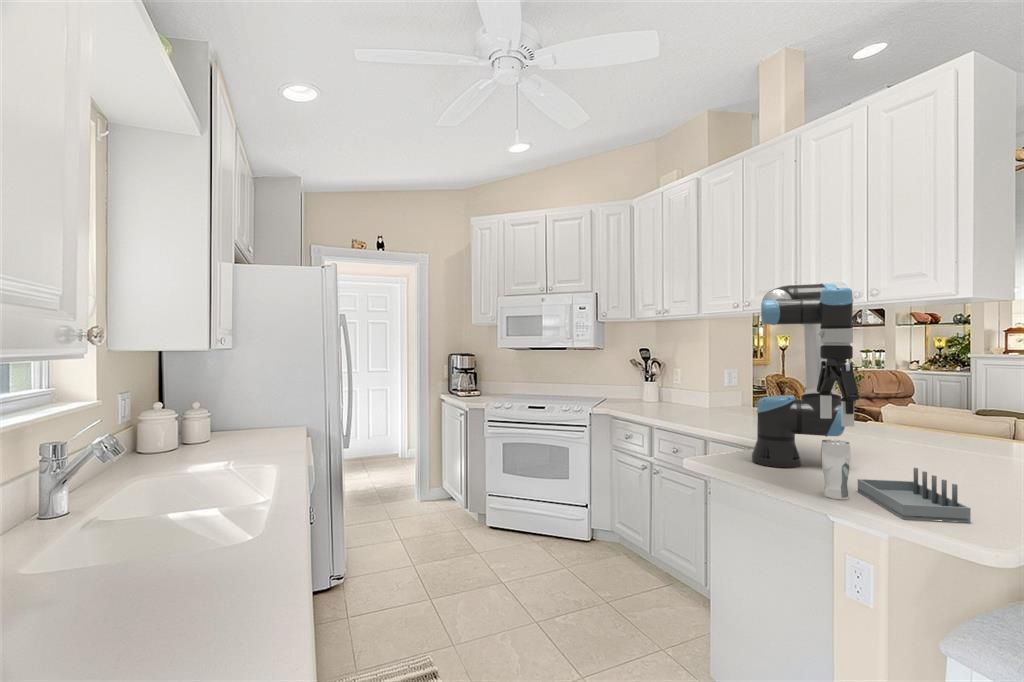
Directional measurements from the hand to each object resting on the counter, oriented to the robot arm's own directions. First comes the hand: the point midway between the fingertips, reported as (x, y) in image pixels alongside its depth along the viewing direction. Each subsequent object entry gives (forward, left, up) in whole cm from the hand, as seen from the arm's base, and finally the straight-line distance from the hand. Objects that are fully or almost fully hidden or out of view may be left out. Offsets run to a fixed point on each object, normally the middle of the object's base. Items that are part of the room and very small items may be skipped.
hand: (836, 422), depth 141 cm
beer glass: (0, 0, -21) cm, 21 cm away
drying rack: (+5, +15, -20) cm, 26 cm away
